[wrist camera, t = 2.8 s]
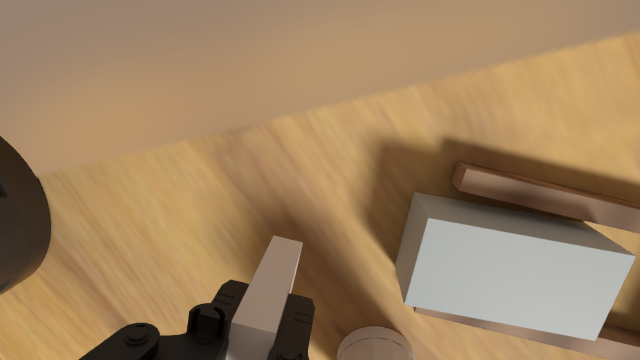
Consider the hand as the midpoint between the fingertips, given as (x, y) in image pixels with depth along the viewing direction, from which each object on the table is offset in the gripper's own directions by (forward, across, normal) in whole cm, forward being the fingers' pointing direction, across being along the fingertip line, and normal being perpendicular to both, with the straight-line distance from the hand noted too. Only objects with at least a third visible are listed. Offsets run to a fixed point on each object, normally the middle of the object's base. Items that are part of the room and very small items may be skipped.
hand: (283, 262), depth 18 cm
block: (+9, +14, 0) cm, 16 cm away
